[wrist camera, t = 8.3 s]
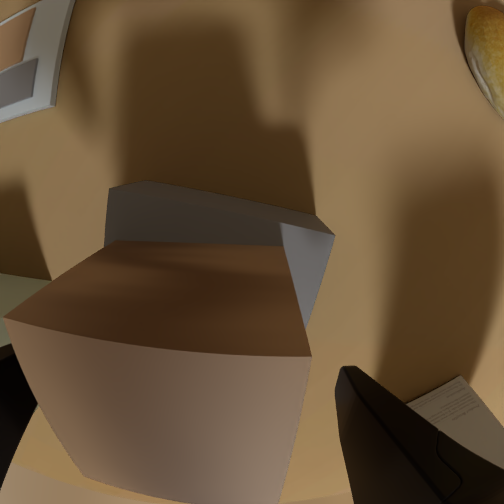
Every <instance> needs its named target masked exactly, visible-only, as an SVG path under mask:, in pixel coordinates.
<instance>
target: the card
mask: <svg viewBox="0 0 504 504" xmlns="http://www.w3.org/2000/svg"><path fill="white" fill-rule="evenodd" d="M74 3H75V0H42V1H40V2H38V3H36V4H34V5H32V6H30V7H28V8H26V9H24V10H22V11H20V12H18V13H17V14H15V15H13V16H11V17H10V18H8V19H6V20H5V21H3V22H1V23H0V123H1V122H4V121H7V120H10V119H13V118H16V117H19V116H22V115H25V114H29V113H32V112H36V111H39V110H43V109H46V108H50V107H54V106H55V104H56V94H57V86H58V78H59V71H60V65H61V59H62V54H63V48H64V43H65V39H66V34H67V30H68V25H69V21H70V18H71V14H72V10H73V6H74Z"/></svg>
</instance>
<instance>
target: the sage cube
mask: <svg viewBox="0 0 504 504" xmlns="http://www.w3.org/2000/svg"><path fill="white" fill-rule="evenodd" d="M50 282H52V281H48V280H41V279H34V278H27V277H21V276H14V275H8V274H2V273H0V347H2V346H5V345H7V344H10V343H11V341H10V338H9V335H8V332H7V329H6V326H5V323H4V320H3V316H5V315H6V314H7V313H9V312H10V311H11V310H13V309H14V308H15V307H17V306H18V305H19V304H21V303H22V302H24V301H25V300H26V299H28V298H29V297H30V296H32V295H33V294H35V293H36V292H37V291H39V290H40V289H42V288H43V287H45V286H46V285H47V284H49V283H50ZM38 407H39V404H38V405H37V407H36V409H37V408H38ZM36 409H35V411H36ZM35 411H34V412H35Z"/></svg>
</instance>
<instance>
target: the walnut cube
mask: <svg viewBox="0 0 504 504" xmlns="http://www.w3.org/2000/svg"><path fill="white" fill-rule="evenodd" d="M3 320H4V323H5V326H6V329H7V332H8V335H9V338H10V341H11V343H12V346H13V349H14V351H15V354H16V356H17V359H18V361H19V364H20V366H21V368H22V371H23V373H24V375H25V377H26V380H27V382H28V384H29V386H30V388H31V390H32V392H33V394H34V396H35V398H36V400H37V402H38V404H39V406H40V408H41V410H42V412H43V414H44V415H45V417H46V419H47V421H48V422H49V424H50V426H51V428H52V429H53V431H54V433H55V434H56V436H57V438H58V439H59V441H60V442H61V444H62V446H63V447H64V449H65V450H66V452H67V453H68V455H69V456H70V458H71V459H72V461H73V462H74V463H75V465H76V466H77V468H78V469H79V470H80V472H81V473H82V474H83V476H84V477H87V478H90V479H93V480H96V481H99V482H102V483H105V484H108V485H111V486H114V487H118V488H121V489H125V490H128V491H132V492H136V493H140V494H144V495H148V496H152V497H157V498H162V499H167V500H172V501H178V502H184V503H191V504H278V503H279V499H280V496H281V492H282V489H283V485H284V481H285V478H286V474H287V470H288V466H289V462H290V458H291V454H292V450H293V446H294V442H295V438H296V433H297V429H298V424H299V420H300V415H301V411H302V406H303V401H304V396H305V391H306V386H307V381H308V375H309V370H310V364H311V359H312V355H311V351H310V347H309V343H308V339H307V335H306V331H305V327H304V323H303V319H302V315H301V311H300V307H299V303H298V299H297V295H296V291H295V287H294V283H293V280H292V276H291V272H290V268H289V264H288V261H287V257H286V253H285V250H284V246H263V245H237V244H210V243H182V242H152V241H121V240H115V241H114V242H112V243H110V244H109V245H107V246H105V247H104V248H102V249H101V250H99V251H97V252H96V253H94V254H93V255H91V256H90V257H88V258H86V259H85V260H83V261H82V262H80V263H79V264H77V265H76V266H74V267H73V268H71V269H70V270H68V271H67V272H65V273H64V274H62V275H61V276H59V277H58V278H56V279H55V280H53V281H52V282H50V283H49V284H47V285H46V286H45V287H43V288H42V289H40V290H39V291H37V292H36V293H35V294H33V295H32V296H30V297H29V298H28V299H26V300H25V301H24V302H22V303H21V304H19V305H18V306H17V307H15V308H14V309H13V310H11V311H10V312H9V313H7V314H6V315H5V316H3Z"/></svg>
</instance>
